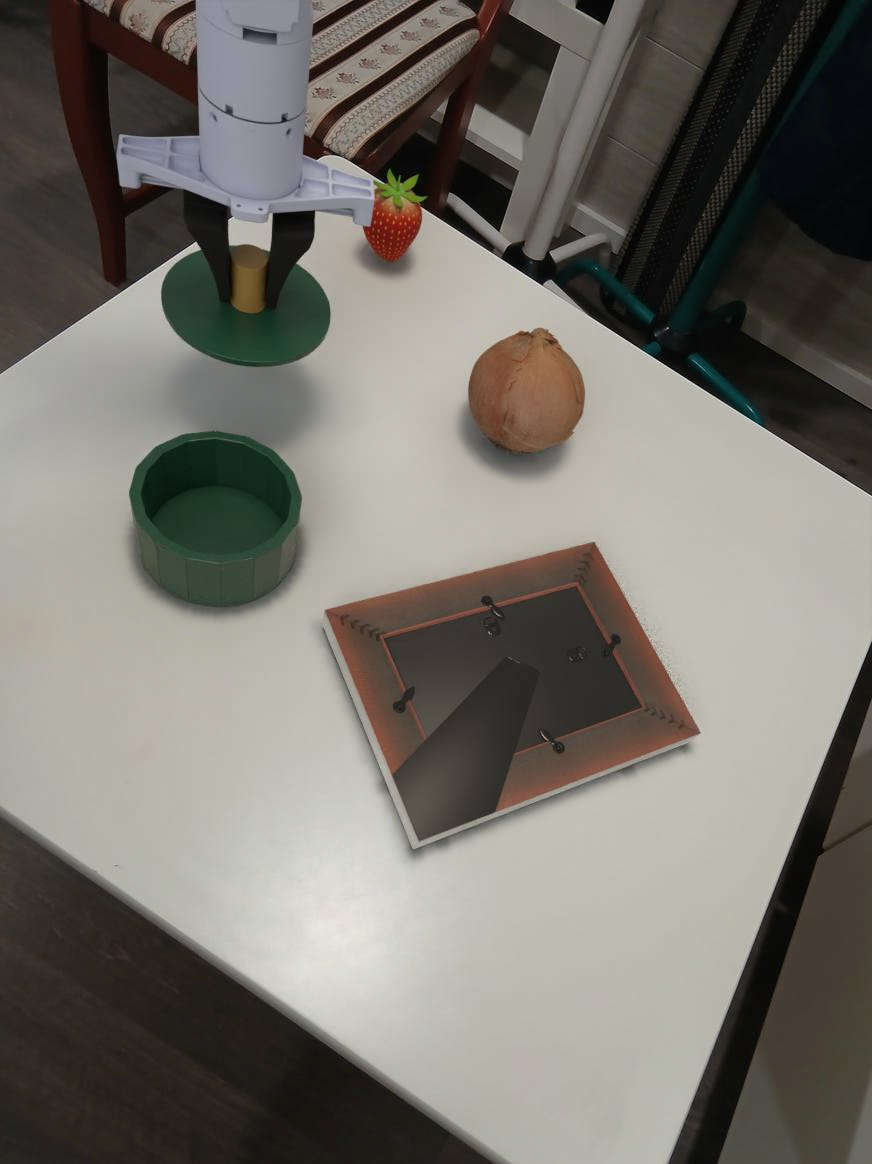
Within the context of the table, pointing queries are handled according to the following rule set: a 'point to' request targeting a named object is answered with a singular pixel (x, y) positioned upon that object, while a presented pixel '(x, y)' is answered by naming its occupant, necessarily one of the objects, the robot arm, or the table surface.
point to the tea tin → (215, 517)
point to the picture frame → (504, 688)
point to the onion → (526, 392)
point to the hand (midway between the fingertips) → (247, 295)
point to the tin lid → (245, 310)
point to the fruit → (394, 218)
